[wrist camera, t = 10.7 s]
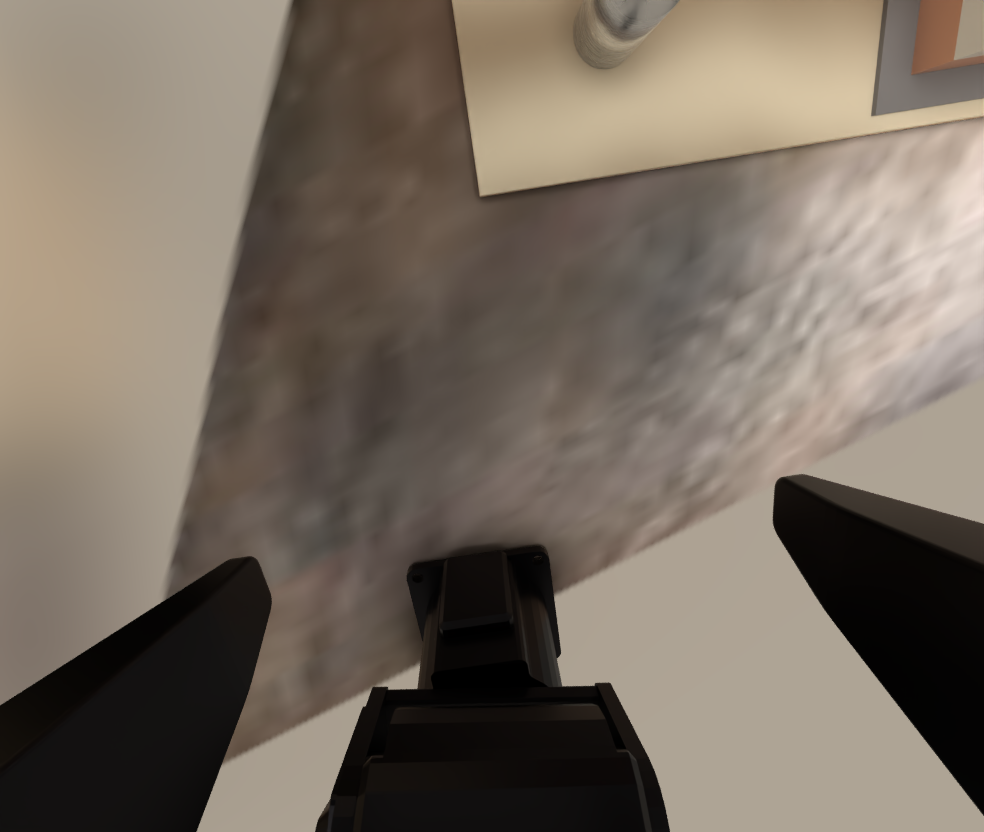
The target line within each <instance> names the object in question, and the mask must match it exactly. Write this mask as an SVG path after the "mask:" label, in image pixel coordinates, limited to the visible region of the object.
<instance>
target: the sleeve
mask: <svg viewBox="0 0 984 832" xmlns="http://www.w3.org/2000/svg"><path fill="white" fill-rule="evenodd" d="M981 63H984V0H921V1H920V9H919V17H918V24H917V32H916V40H915V48H914V56H913V64H912V71H911V75H914V74H920V73H926V72H932V71H939V70H945V69H951V68H957V67H963V66H969V65H975V64H981Z"/></svg>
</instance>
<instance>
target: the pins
mask: <svg viewBox="0 0 984 832" xmlns="http://www.w3.org/2000/svg"><path fill="white" fill-rule="evenodd" d="M679 1H680V0H583V2H582V4H581V6H580V8H579V10H578V13H577V15H576V18H575V21H574V27H573V38H574V43H575V47H576V50H577V52H578V54H579V55H580V57H581V58H582V59H583V61H584V62H586V63H587V64H588V65H590V66H591V67H594V68H597V69H611V68H614V67H616V66H618V65H620V64H621V63H622V62H624V61H625V60H626V59H627V58H628V56H629V55H630V54H631V53H632V52H633V51H634V50H635V49H636V48H637V47H638V46H639V45H640V44H641V42H642V41H643V40H644V39H645V38H646V37H647V36H648V35H649V34H650V33H651V32H652V31H653V29H654V28H655V27H656V26H657V25H658V24H659V23H660V22H661V21H662V20H663V19H664V18H665V16H666V15H667V14H668V13H669V12H670V11H671V10H672V9H673V8H674V7H675V6H676V5H677V3H678V2H679Z"/></svg>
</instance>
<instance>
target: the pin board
mask: <svg viewBox="0 0 984 832" xmlns="http://www.w3.org/2000/svg"><path fill="white" fill-rule="evenodd" d="M451 1H452V8H453V15H454V22H455V29H456V36H457V43H458V49H459V56H460V63H461V70H462V77H463V84H464V91H465V98H466V105H467V112H468V119H469V126H470V133H471V140H472V147H473V154H474V161H475V167H476V174H477V181H478V188H479V195H480V197H485V196H492V195H498V194H504V193H510V192H517V191H523V190H529V189H535V188H542V187H548V186H554V185H560V184H567V183H573V182H579V181H585V180H592V179H598V178H604V177H610V176H617V175H623V174H629V173H635V172H642V171H648V170H654V169H661V168H667V167H673V166H679V165H686V164H692V163H698V162H704V161H711V160H717V159H723V158H729V157H736V156H742V155H748V154H754V153H761V152H767V151H773V150H779V149H786V148H792V147H798V146H804V145H811V144H817V143H823V142H829V141H836V140H842V139H848V138H854V137H861V136H867V135H873V134H879V133H886V132H892V131H898V130H904V129H911V128H917V127H923V126H929V125H936V124H942V123H948V122H954V121H961V120H967V119H973V118H979V117H984V63H981V64H975V65H969V66H963V67H957V68H951V69H945V70H939V71H932V72H926V73H920V74H914V75H911V71H912V64H913V56H914V48H915V40H916V32H917V24H918V17H919V9H920V1H921V0H680V1H679V2H678V3H677V5H676V6H675V7H674V8H673V9H672V10H671V11H670V12H669V13H668V14H667V15H666V16H665V18H664V19H663V20H662V21H661V22H660V23H659V24H658V25H657V26H656V27H655V28H654V29H653V31H652V32H651V33H650V34H649V35H648V36H647V37H646V38H645V39H644V40H643V41H642V42H641V44H640V45H639V46H638V47H637V48H636V49H635V50H634V51H633V52H632V53H631V54H630V55H629V56H628V58H627V59H626V60H625V61H624V62H622V63H621V64H620V65H618V66H616V67H614V68H611V69H597V68H594V67H591V66H590V65H588V64H587V63H586V62H584V61H583V59H582V58H581V57H580V55H579V54H578V52H577V50H576V47H575V43H574V38H573V27H574V21H575V18H576V15H577V13H578V10H579V8H580V6H581V4H582V2H583V0H451Z"/></svg>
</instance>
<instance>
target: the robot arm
mask: <svg viewBox="0 0 984 832" xmlns="http://www.w3.org/2000/svg"><path fill="white" fill-rule="evenodd" d="M773 525H774V528H775V531H776V533H777V535H778V537H779V538H780V540H781V542H782V543H783V545H784V547H785V548H786V550H787V551H788V553H789V554H790V556H791V558H792V559H793V561H794V563H795V564H796V566H797V567H798V569H799V571H800V572H801V574H802V575H803V577H804V579H805V580H806V582H807V583H808V585H809V587H810V588H811V590H812V591H813V593H814V595H815V596H816V598H817V599H818V601H819V602H820V604H821V605H822V607H823V608H824V610H825V611H826V612H827V614H828V615H829V616H830V618H831V619H832V621H833V622H834V623H835V624H836V626H837V627H838V628H839V630H840V631H841V632H842V634H843V635H844V636H845V637H846V639H847V640H848V641H849V643H850V644H851V645H852V646H853V648H854V649H855V650H856V652H857V653H858V654H859V655H860V657H861V658H862V659H863V661H864V662H865V663H866V665H867V666H868V667H869V668H870V670H871V671H872V672H873V674H874V675H875V676H876V677H877V679H878V680H879V681H880V683H881V684H882V685H883V687H884V688H885V689H886V690H887V692H888V693H889V694H890V696H891V697H892V698H893V699H894V701H895V702H896V703H897V704H898V706H899V707H900V708H901V710H902V711H903V712H904V714H905V715H906V716H907V717H908V719H909V720H910V721H911V723H912V724H913V725H914V727H915V728H916V729H917V730H918V731H919V733H920V734H921V736H922V737H923V738H924V739H925V740H926V742H927V743H928V745H929V746H930V747H931V748H932V750H933V751H934V752H935V754H936V755H937V756H938V757H939V759H940V760H941V761H942V763H943V764H944V765H945V767H946V768H947V769H948V770H949V772H950V773H951V774H952V775H953V777H954V778H955V779H956V780H957V782H958V783H959V785H960V786H961V787H962V788H963V790H964V791H965V792H966V793H967V795H968V796H969V797H970V799H971V800H972V801H973V802H974V804H975V805H976V806H977V808H978V809H979V810H980V812H981V813H982V814H983V816H984V524H982V523H979V522H975V521H972V520H968V519H965V518H961V517H957V516H954V515H950V514H946V513H942V512H939V511H936V510H932V509H928V508H925V507H921V506H918V505H914V504H910V503H906V502H903V501H900V500H896V499H892V498H889V497H885V496H881V495H877V494H874V493H870V492H866V491H863V490H859V489H856V488H852V487H849V486H845V485H841V484H838V483H834V482H831V481H827V480H823V479H820V478H816V477H813V476H809V475H805V474H799V475H792V476H786V477H781V478H779V479H778V480H777V481H776V484H775V490H774V506H773ZM536 556H541V559H538V560H535V559H533V558H534V557H536ZM414 574H421V575H422V576H421V577H416V576H414ZM407 582H408V586H409V590H410V594H411V598H412V602H413V606H414V609H415V613H416V617H417V621H418V625H419V629H420V633H421V637H422V641H423V647H422V655H421V664H420V673H419V681H418V689H405V690H404V689H403V690H402V689H400V690H388V687H373V688H372V690H371V693H370V696H369V699H368V702H367V705H366V707H363V708H362V710H361V713H360V716H359V719H358V722H357V724H356V727H355V730H354V733H353V735H352V738H351V741H350V744H349V746H348V749H347V752H346V754H345V757H344V760H343V763H342V766H341V768H340V771H339V774H338V777H337V779H336V782H335V785H334V788H333V791H332V794H331V799H330V800H329V802H328V804H327V805H326V807H325V809H324V811H323V812H322V814H321V816H320V817H319V819H318V822H317V826H316V831H315V832H670V829H669V824H668V819H667V814H666V809H665V805H664V801H663V797H662V793H661V789H660V786H659V783H658V780H657V777H656V774H655V771H654V769H653V766H652V764H651V762H650V760H649V757H648V755H647V753H646V752H645V750H644V748H643V746H642V744H641V742H640V740H639V738H638V736H637V734H636V732H635V730H634V728H633V726H632V724H631V722H630V720H629V719H628V716H627V715H626V713H625V711H624V709H623V707H622V705H621V703H620V701H619V699H618V697H617V695H616V693H615V691H614V690H613V687H612V685H611V683H595V686H566V687H565V686H563V687H562V683H561V678H560V673H559V668H558V663H557V658H558V657H559V656H560V654H561V648H560V640H559V632H558V625H557V617H556V610H555V602H554V594H553V586H552V578H551V570H550V563H549V557H548V553H547V550H546V549H545V548H543V547H541V546H533V547H526V548H519V549H513V550H506V551H494V552H488V553H481V554H474V555H467V556H460V557H454V558H449V559H445V560H438V561H431V562H424V563H418V564H414V565H412V566H411V567H409V569H408V573H407ZM271 604H272V598H271V593H270V590H269V588H268V585H267V582H266V580H265V577H264V575H263V572H262V569H261V567H260V564H259V562H258V561H257V559H256V558H254V557H252V556H248V557H241V558H234V559H230V560H227V561H226V562H224V563H222V564H221V565H219V566H218V567H216V568H215V569H213V570H212V571H210V572H208V573H207V574H205V575H204V576H202V577H201V578H199V579H197V580H196V581H194V582H193V583H191V584H190V585H188V586H186V587H185V588H183V589H182V590H180V591H179V592H177V593H175V594H174V595H172V596H171V597H169V598H168V599H166V600H165V601H163V602H161V603H160V604H158V605H157V606H155V607H154V608H152V609H150V610H149V611H147V612H146V613H144V614H143V615H141V616H140V617H138V618H136V619H135V620H133V621H132V622H130V623H128V624H127V625H125V626H124V627H122V628H121V629H119V630H118V631H116V632H114V633H113V634H111V635H110V636H108V637H107V638H105V639H103V640H102V641H100V642H99V643H97V644H96V645H94V646H93V647H91V648H89V649H88V650H86V651H85V652H83V653H82V654H80V655H78V656H77V657H75V658H74V659H72V660H71V661H69V662H68V663H66V664H64V665H63V666H61V667H60V668H58V669H56V670H55V671H53V672H52V673H50V674H49V675H47V676H45V677H44V678H42V679H41V680H39V681H38V682H36V683H35V684H33V685H32V686H30V687H28V688H27V689H25V690H24V691H22V692H21V693H19V694H17V695H16V696H14V697H13V698H11V699H9V700H8V701H6V702H5V703H3V704H2V705H0V832H196V831H197V828H198V826H199V823H200V821H201V818H202V816H203V813H204V810H205V807H206V805H207V802H208V800H209V797H210V794H211V791H212V789H213V786H214V784H215V781H216V778H217V776H218V773H219V770H220V768H221V765H222V762H223V760H224V757H225V754H226V752H227V749H228V746H229V744H230V741H231V738H232V736H233V733H234V730H235V728H236V725H237V722H238V720H239V717H240V714H241V712H242V709H243V706H244V703H245V701H246V698H247V695H248V692H249V689H250V685H251V682H252V678H253V675H254V671H255V667H256V663H257V660H258V656H259V652H260V648H261V644H262V641H263V637H264V633H265V629H266V626H267V622H268V618H269V614H270V610H271Z"/></svg>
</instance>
